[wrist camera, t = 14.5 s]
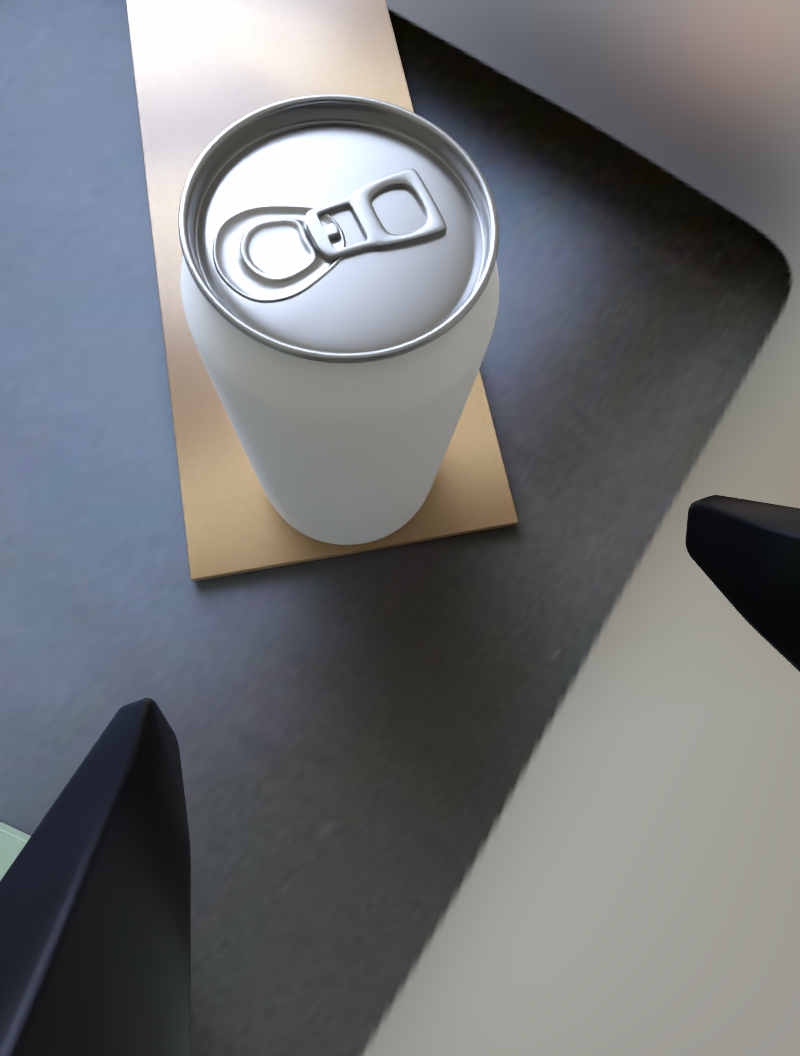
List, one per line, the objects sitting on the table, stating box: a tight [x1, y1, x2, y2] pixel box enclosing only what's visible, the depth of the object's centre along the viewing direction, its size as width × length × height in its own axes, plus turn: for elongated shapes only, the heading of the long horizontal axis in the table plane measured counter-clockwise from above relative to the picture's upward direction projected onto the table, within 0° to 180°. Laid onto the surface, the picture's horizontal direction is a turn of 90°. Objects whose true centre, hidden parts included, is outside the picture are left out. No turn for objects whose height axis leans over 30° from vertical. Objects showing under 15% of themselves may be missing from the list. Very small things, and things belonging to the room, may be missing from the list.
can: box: [178, 94, 499, 545], centre depth 16 cm, size 6×6×12 cm
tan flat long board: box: [126, 0, 518, 581], centre depth 25 cm, size 36×12×1 cm, turn 11°
